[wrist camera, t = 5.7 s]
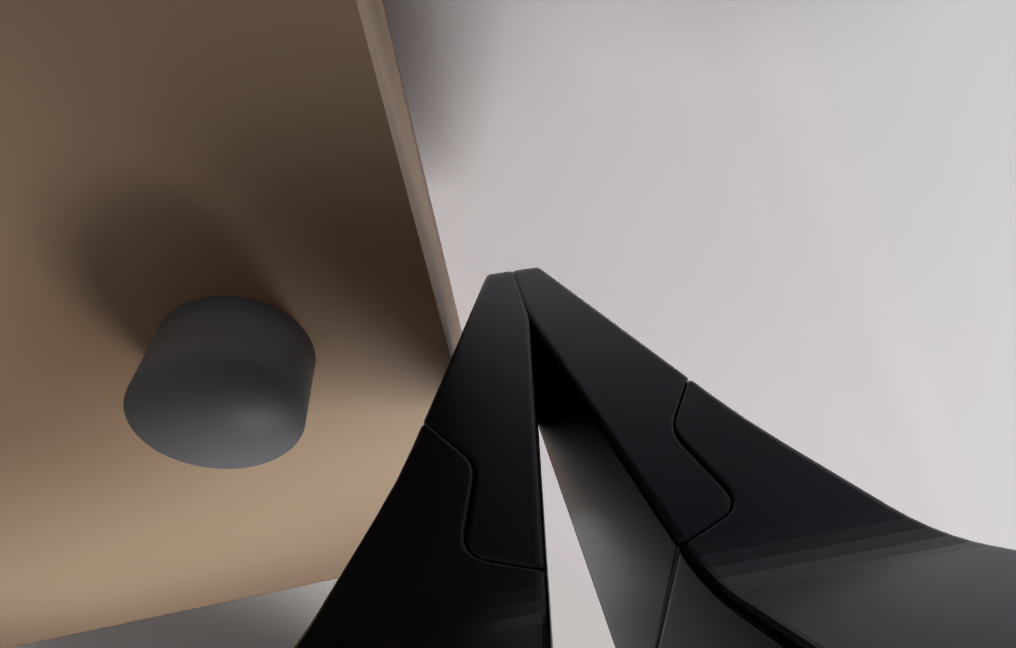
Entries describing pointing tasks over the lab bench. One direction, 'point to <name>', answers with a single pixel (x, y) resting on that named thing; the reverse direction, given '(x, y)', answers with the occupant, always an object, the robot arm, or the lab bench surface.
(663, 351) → the lab bench surface
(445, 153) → the lab bench surface
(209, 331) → the door panel
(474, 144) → the lab bench surface
